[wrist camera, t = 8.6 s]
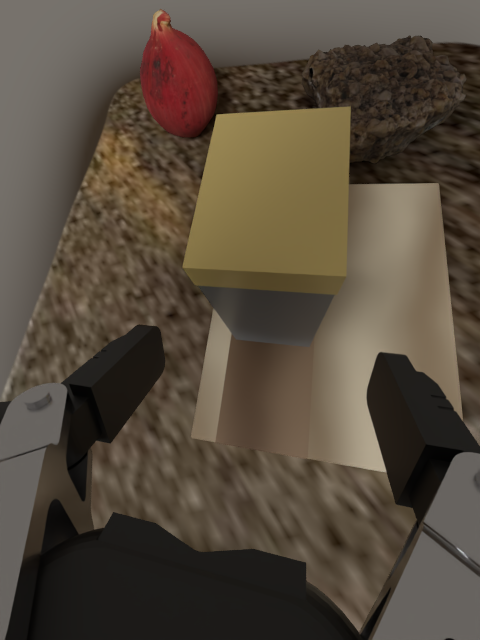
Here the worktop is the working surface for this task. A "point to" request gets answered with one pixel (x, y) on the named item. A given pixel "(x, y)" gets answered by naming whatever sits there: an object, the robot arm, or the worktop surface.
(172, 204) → the worktop surface
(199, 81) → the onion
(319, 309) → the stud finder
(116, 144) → the worktop surface
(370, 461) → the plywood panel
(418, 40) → the concrete sample
